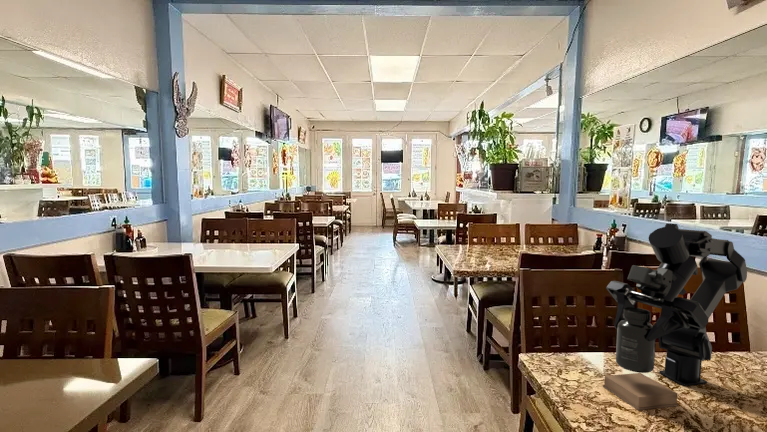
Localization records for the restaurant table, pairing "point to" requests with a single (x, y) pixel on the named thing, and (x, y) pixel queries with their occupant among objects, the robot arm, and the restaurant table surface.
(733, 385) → the restaurant table surface
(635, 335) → the supplement bottle
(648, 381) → the walnut base
